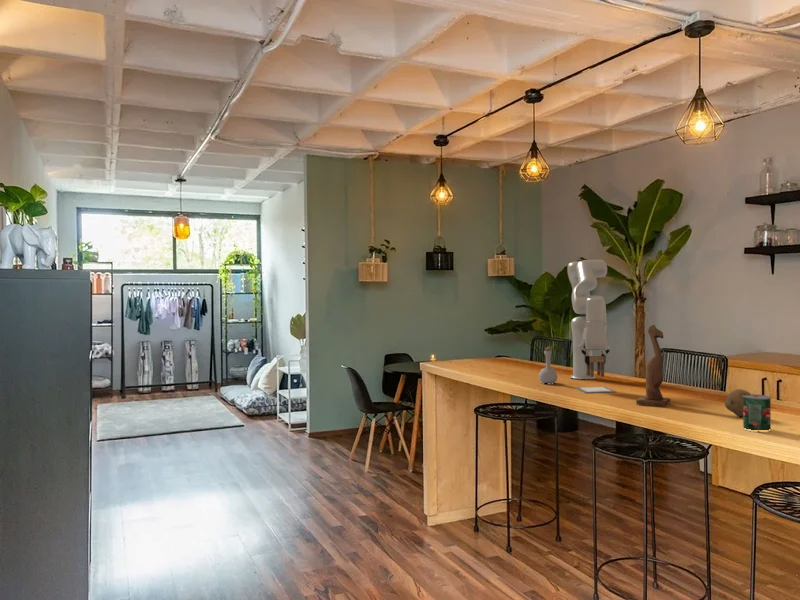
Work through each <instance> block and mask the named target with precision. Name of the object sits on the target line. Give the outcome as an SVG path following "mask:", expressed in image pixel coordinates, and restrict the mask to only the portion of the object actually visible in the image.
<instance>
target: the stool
mask: <svg viewBox="0 0 800 600" xmlns="http://www.w3.org/2000/svg"><path fill="white" fill-rule="evenodd" d="M604 362H605V357H604V356H601V355H599V354H598V355H592V356H589V363H590V364H589V365H587V364H586V369H587V376H590V377H594V376H595V373H594V372H595V371H594V370H595V368H594V367H595V366H594V364H595V363H596V376H600V378H601V377H605V365H604ZM605 363H606V362H605Z"/></svg>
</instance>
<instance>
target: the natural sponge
mask: <svg viewBox="0 0 800 600" xmlns="http://www.w3.org/2000/svg"><path fill="white" fill-rule="evenodd" d="M747 394H751V393H750V392H749V391H748V390H745V389H741V388H737V389H734V390H732V391H730V392H729V393H728V394H727V396H726V397H725V401H724V406H725V408H726V409H727V410H728V411H729V412H732V413H733V414H734V415H736V416H737V417H739V416H743V395H747Z"/></svg>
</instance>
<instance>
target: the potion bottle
mask: <svg viewBox="0 0 800 600" xmlns="http://www.w3.org/2000/svg"><path fill="white" fill-rule="evenodd" d="M552 352H553V351H552V350H551V346H548V347H545V350H544V351H543V353H544V355H545V367H544V368H541V370H540V371H539V374H538V378H539V381H540V382H541V384H542V383H547V384H546V385H549V384H548V383H551V384H550V385H553V384H552V383H555V384H556V382H557V380H558V374H557V372H556V370H555V368H552V367H551V356H552Z"/></svg>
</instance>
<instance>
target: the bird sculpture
mask: <svg viewBox="0 0 800 600" xmlns="http://www.w3.org/2000/svg"><path fill="white" fill-rule="evenodd" d="M647 332H648V335H649V338H650V341H651V345H652V348H653V355H651V356H650V357H649V358H648V359H647V361H646V364H645V395H644V396H642V395H641V396H640V397H638V398H636V401H635V403H636V405H639V406H643V405H644V406H646V407H654V406H657V407H658V406H660V407H659V408H665V407H666V402H667V403H669V402H671V401H672V399H671V397H663V394H662V392H661V389H660V385H662V383H663V380H664V374H663V373H664V371H663V370H664V369H663V367H664V366H663V363H664V362H663V353H662V350H661V347H660V344H659V341H658V338H660V339H664V332H663V331H661V330H659V329H658V328H657V327H656V325H655V324H651V325H649V327H648V330H647Z"/></svg>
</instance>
